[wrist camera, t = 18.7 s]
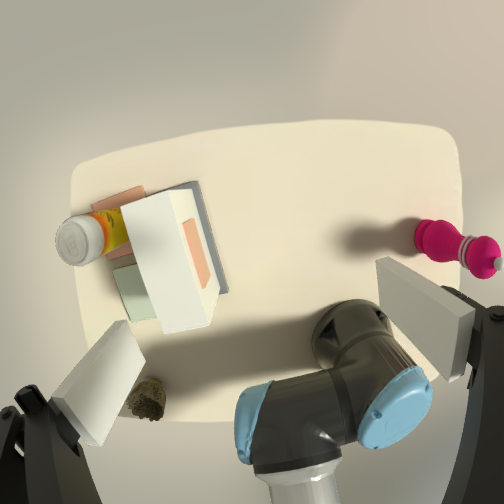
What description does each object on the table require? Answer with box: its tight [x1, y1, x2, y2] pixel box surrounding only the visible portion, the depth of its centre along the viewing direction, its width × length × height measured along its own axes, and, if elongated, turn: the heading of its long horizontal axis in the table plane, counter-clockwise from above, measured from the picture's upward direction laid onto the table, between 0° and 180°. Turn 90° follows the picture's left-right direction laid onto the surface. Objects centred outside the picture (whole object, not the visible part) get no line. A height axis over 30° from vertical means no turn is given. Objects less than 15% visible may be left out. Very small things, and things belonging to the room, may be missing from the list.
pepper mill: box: [415, 220, 504, 279], centre depth 34 cm, size 7×7×20 cm
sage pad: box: [112, 264, 157, 322], centre depth 45 cm, size 10×10×1 cm
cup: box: [126, 379, 166, 421], centre depth 46 cm, size 8×7×8 cm
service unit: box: [120, 181, 229, 334], centre depth 37 cm, size 18×8×14 cm, turn 14°
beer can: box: [56, 207, 130, 266], centre depth 35 cm, size 6×6×15 cm
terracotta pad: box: [92, 186, 146, 260], centre depth 42 cm, size 10×10×1 cm
